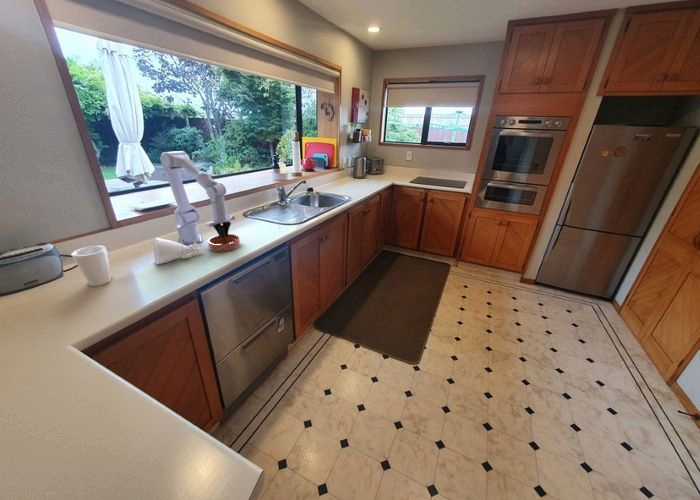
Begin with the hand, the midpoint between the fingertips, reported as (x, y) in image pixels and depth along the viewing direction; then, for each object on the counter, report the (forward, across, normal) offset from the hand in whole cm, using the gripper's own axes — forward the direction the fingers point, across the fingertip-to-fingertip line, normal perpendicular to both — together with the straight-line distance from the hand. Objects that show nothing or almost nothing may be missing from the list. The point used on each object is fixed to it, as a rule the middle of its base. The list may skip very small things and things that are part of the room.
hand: (223, 237), depth 137 cm
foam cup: (+6, -46, +14) cm, 49 cm away
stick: (+3, 0, 0) cm, 3 cm away
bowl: (+6, +1, +1) cm, 6 cm away
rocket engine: (+6, -20, +6) cm, 21 cm away
